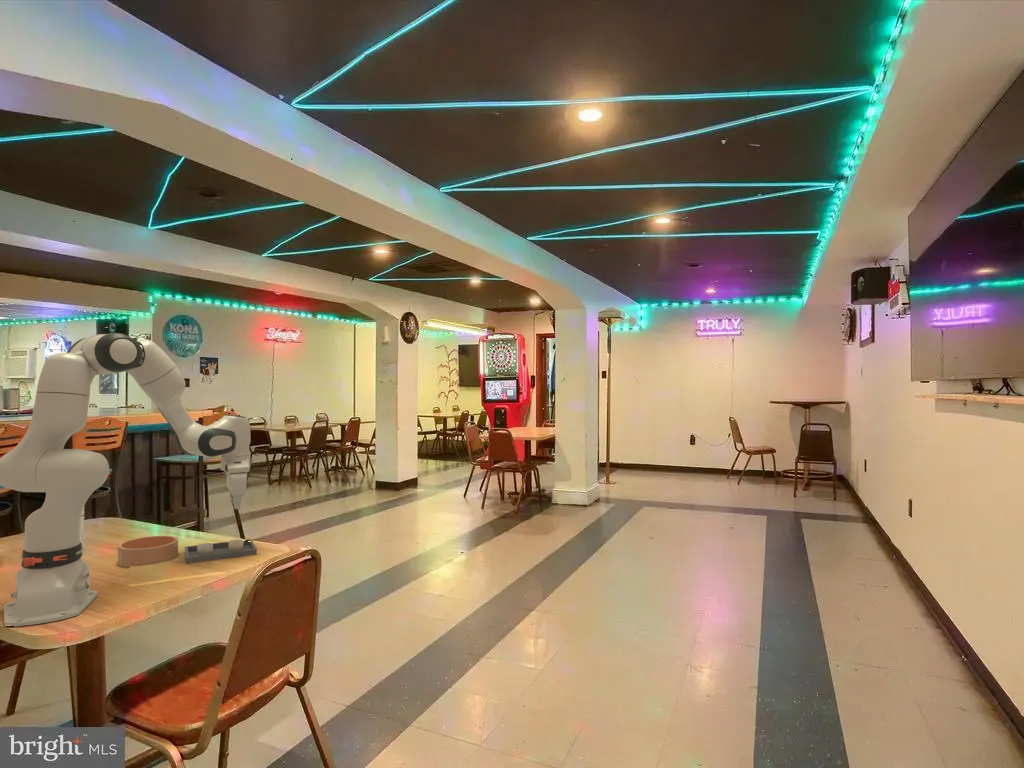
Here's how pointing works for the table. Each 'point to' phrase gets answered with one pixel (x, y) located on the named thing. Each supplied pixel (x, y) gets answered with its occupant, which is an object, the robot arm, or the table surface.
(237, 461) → the robot arm
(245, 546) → the parts tray
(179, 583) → the table surface
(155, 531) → the table surface
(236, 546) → the sandstone pebble
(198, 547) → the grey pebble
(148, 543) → the terracotta bowl
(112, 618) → the table surface
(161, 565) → the table surface
